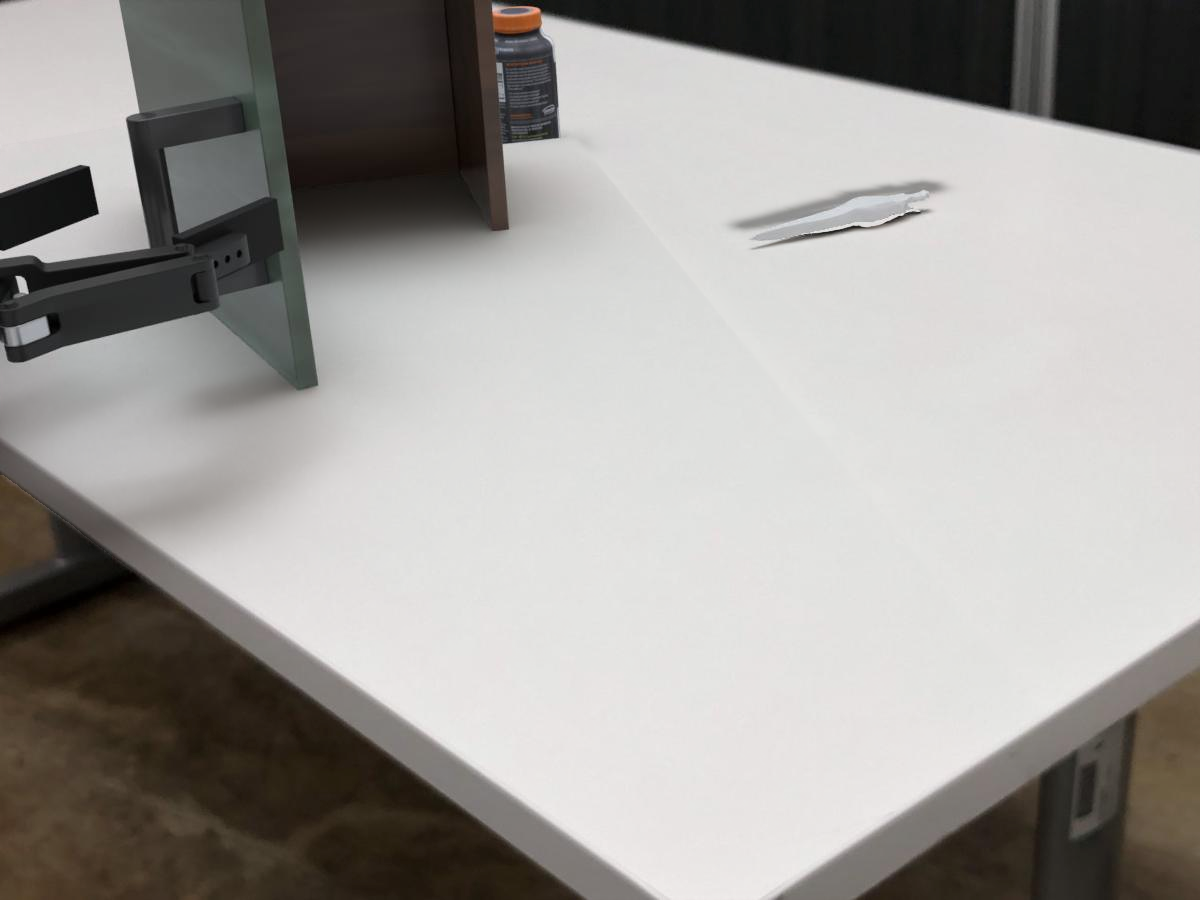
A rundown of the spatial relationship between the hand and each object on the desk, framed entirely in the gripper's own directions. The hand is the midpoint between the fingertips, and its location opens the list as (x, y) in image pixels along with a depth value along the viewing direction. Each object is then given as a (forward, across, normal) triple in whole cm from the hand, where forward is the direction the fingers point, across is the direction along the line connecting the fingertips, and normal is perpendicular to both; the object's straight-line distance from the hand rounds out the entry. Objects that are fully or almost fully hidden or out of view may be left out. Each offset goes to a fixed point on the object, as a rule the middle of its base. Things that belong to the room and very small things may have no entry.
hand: (179, 205), depth 83 cm
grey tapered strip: (+42, +19, -12) cm, 48 cm away
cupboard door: (+4, -6, -12) cm, 14 cm away
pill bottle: (+50, -13, -12) cm, 53 cm away
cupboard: (+26, -13, -12) cm, 32 cm away
